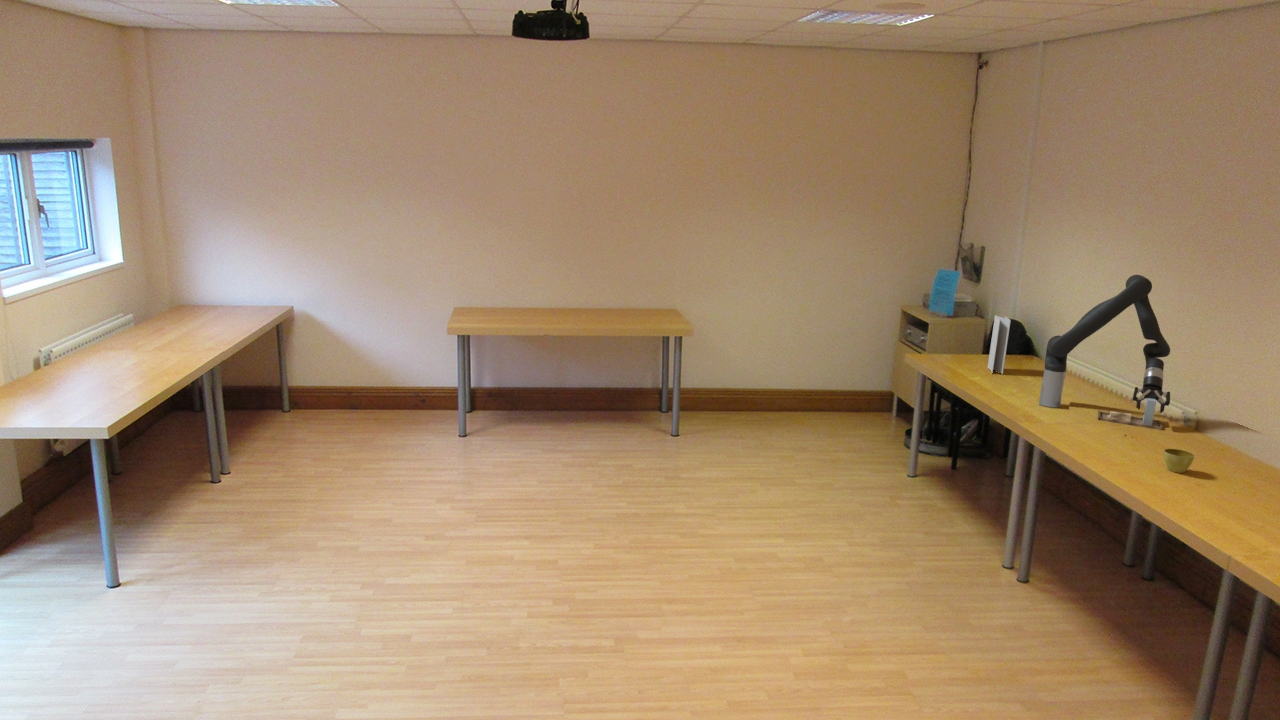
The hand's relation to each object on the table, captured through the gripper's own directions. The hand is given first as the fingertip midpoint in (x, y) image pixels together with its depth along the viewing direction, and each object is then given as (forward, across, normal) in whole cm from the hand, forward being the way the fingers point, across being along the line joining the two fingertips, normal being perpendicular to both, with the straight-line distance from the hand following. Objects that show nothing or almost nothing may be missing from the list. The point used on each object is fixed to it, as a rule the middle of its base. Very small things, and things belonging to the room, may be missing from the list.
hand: (1150, 410), depth 386 cm
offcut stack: (+7, -12, +2) cm, 14 cm away
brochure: (-47, -70, +58) cm, 102 cm away
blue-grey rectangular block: (+4, 0, +6) cm, 7 cm away
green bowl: (+49, +7, -37) cm, 62 cm away
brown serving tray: (+5, -7, +6) cm, 11 cm away
